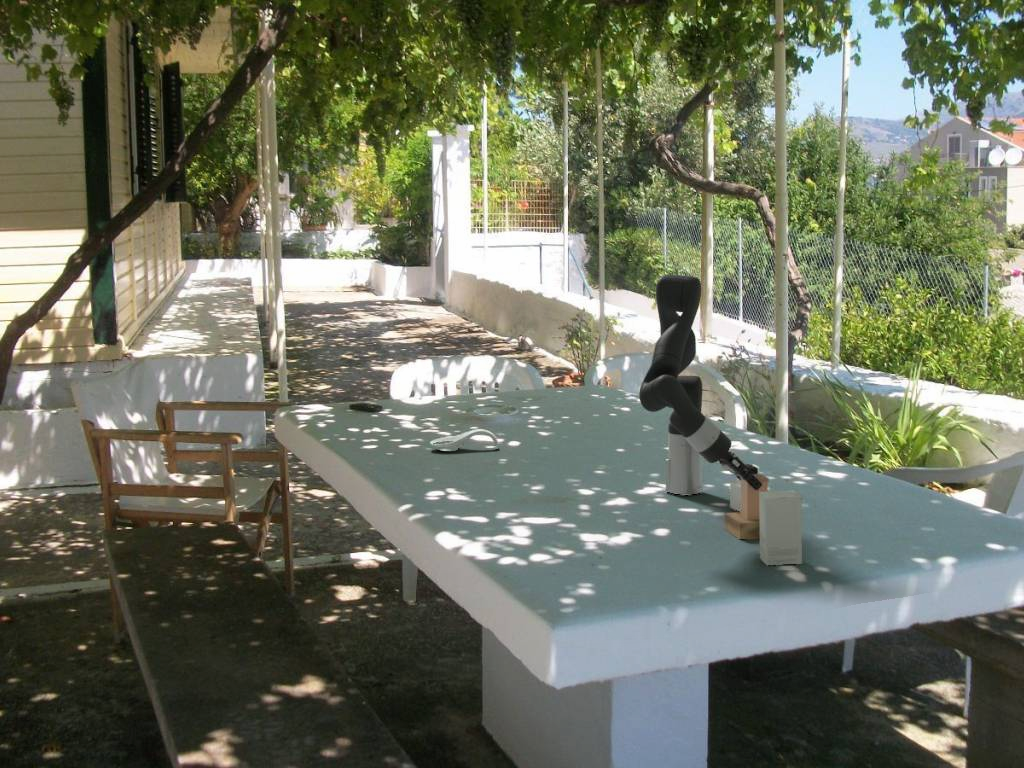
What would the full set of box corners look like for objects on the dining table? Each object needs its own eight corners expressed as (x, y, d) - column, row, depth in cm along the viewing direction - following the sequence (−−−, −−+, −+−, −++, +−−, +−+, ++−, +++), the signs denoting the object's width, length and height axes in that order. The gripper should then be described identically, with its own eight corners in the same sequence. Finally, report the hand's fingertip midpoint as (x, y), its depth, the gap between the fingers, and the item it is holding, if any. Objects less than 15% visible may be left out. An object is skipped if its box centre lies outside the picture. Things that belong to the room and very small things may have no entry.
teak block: (740, 539, 284) (740, 523, 283) (724, 528, 295) (725, 513, 294) (784, 537, 285) (784, 520, 285) (767, 526, 296) (767, 510, 296)
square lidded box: (746, 520, 286) (746, 479, 285) (739, 515, 292) (739, 474, 291) (768, 519, 287) (768, 478, 286) (760, 514, 292) (761, 474, 291)
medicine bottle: (741, 513, 310) (741, 468, 309) (729, 507, 317) (729, 463, 316) (766, 511, 312) (766, 466, 311) (754, 505, 319) (754, 461, 318)
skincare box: (794, 557, 268) (795, 489, 266) (803, 565, 261) (803, 495, 259) (757, 558, 267) (758, 490, 265) (765, 566, 261) (765, 496, 259)
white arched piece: (430, 454, 405) (429, 434, 404) (430, 448, 417) (429, 428, 416) (499, 452, 407) (499, 431, 406) (497, 446, 418) (497, 426, 417)
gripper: (728, 432, 278) (774, 478, 282) (708, 423, 292) (753, 467, 296) (706, 456, 278) (752, 501, 281) (687, 445, 292) (732, 489, 295)
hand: (753, 483), depth 289 cm, fingers open, 8 cm apart
